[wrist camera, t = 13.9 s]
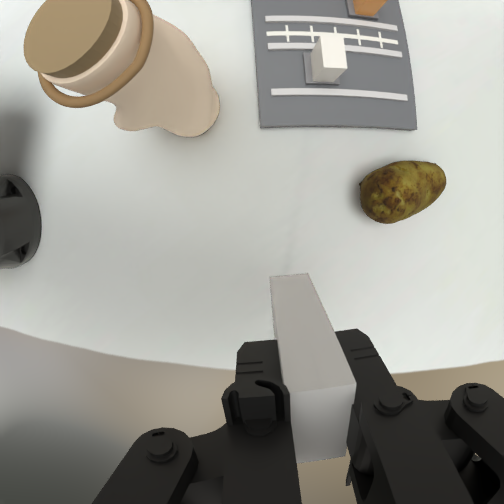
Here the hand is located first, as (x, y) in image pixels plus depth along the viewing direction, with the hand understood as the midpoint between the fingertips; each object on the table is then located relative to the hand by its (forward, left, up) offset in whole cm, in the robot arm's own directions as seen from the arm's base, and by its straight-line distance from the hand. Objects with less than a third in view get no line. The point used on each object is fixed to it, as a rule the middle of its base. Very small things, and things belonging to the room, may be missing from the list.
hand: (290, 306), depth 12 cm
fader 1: (+7, +17, -26) cm, 32 cm away
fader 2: (+14, +27, -26) cm, 40 cm away
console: (+10, +22, -28) cm, 37 cm away
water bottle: (-9, +14, -28) cm, 33 cm away
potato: (+17, +2, -28) cm, 33 cm away
